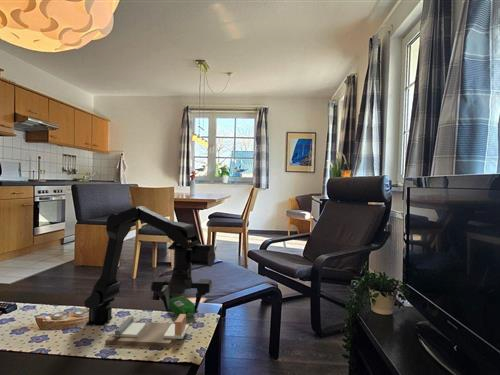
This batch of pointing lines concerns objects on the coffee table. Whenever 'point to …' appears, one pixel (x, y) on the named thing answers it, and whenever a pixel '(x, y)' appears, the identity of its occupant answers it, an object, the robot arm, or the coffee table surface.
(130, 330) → the white tray
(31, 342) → the coffee table surface
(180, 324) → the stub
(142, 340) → the board
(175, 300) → the snack package
